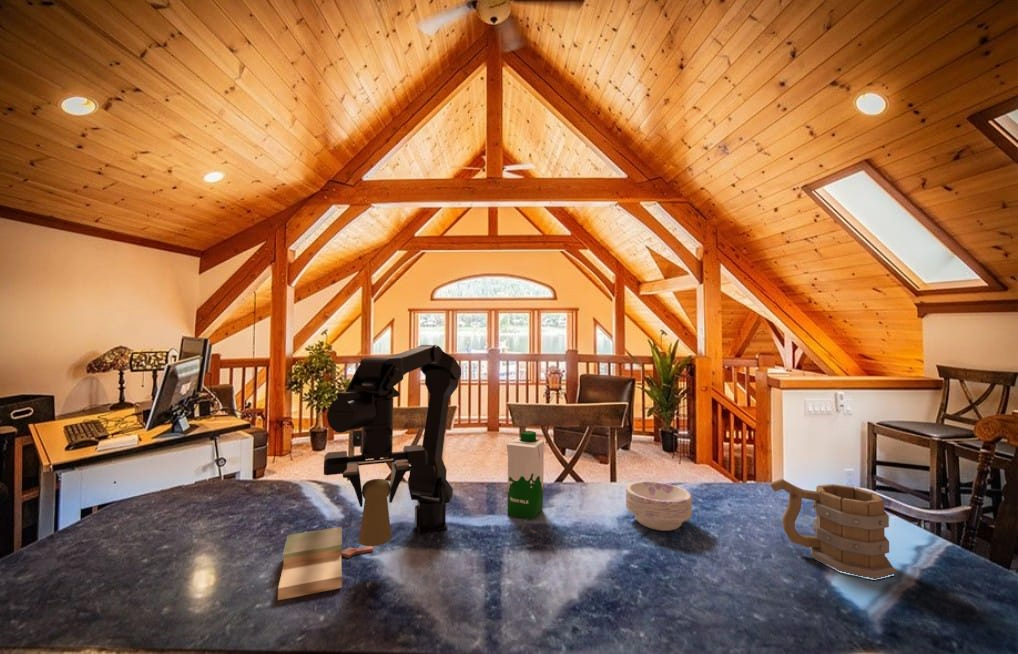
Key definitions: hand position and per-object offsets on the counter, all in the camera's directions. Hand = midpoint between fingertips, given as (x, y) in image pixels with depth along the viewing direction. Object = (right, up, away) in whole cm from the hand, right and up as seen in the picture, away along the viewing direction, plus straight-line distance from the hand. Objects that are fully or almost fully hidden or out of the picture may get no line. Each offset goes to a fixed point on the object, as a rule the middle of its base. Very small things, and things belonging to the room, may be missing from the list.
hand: (375, 503), depth 81 cm
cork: (0, -7, 0) cm, 7 cm away
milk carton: (+30, -14, +27) cm, 43 cm away
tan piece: (-9, -12, 0) cm, 15 cm away
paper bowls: (+62, -14, +22) cm, 67 cm away
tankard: (+91, -14, +6) cm, 93 cm away
